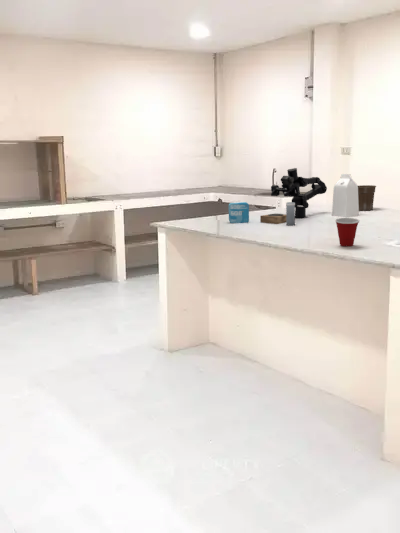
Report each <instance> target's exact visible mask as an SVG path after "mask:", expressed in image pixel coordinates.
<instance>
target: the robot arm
mask: <svg viewBox="0 0 400 533" xmlns="http://www.w3.org/2000/svg"><path fill="white" fill-rule="evenodd" d="M286 171H287V175H283V176H281V178H280V181H281V187H280V186H279V185H275V184H273V185H271V186H270V190H271V193H270V195H271V197H278V196H279V195H280V193H283V194H282V195H283V196H284V197H289V198H290V197H292V199H291V202H295V218H296V219H305V218H308V216H307V215H306V213H307V212H306V211H307V209H308V208H309V203H308V201H309V200H310V199H312V198H314V197H315V196H317V195H322V194H325V193H327V189H328V188H327V185H326V183H325V182H324V181H322V180H321V178H320V177H318V176H312V177H308V178H307V177H304V176H303V177H302V176H298V168H297V167H294V168H289V169H287V170H286ZM308 185H311V186H310V187H311V189H310V190H308V191H306V192H304V193H301V191H300V190H301V189H300V188H305V187H307V186H308Z"/></svg>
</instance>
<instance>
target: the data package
mask: <svg viewBox="0 0 400 533" xmlns="http://www.w3.org/2000/svg"><path fill="white" fill-rule="evenodd" d="M249 205H250V204H249V203H248V202H247V201H246V202H230V203H229V204H228V221H229V223H230V224H243V223H246V224H247V223H249V221H250V206H249Z"/></svg>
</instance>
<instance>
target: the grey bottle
mask: <svg viewBox="0 0 400 533" xmlns="http://www.w3.org/2000/svg"><path fill="white" fill-rule="evenodd" d="M285 207H286V208H285V209H286V210H285V211H286V212H285V214H286V226H288V227H289V226H290V227H291V226H292V227H293V225H294V226H295V225H296V224H295V223H296V221H295V220H296V219H295V202H292V201H287V202H285Z"/></svg>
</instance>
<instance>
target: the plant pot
mask: <svg viewBox="0 0 400 533" xmlns="http://www.w3.org/2000/svg"><path fill="white" fill-rule="evenodd" d="M357 186H358V203H359V212H367V211H368V212H369V211H373V210H374V209H373V208H374V201H375V193H376V187H377V185H374V184H373V185H372V184H371V185H367V184H366V185H357Z"/></svg>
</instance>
